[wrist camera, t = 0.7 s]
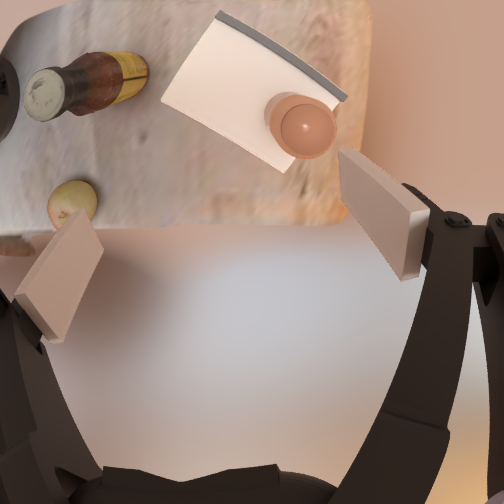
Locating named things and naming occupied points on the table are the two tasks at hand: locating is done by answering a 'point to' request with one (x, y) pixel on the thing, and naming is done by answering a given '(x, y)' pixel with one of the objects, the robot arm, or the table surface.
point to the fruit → (71, 202)
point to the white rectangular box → (244, 85)
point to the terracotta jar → (300, 124)
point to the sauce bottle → (85, 85)
